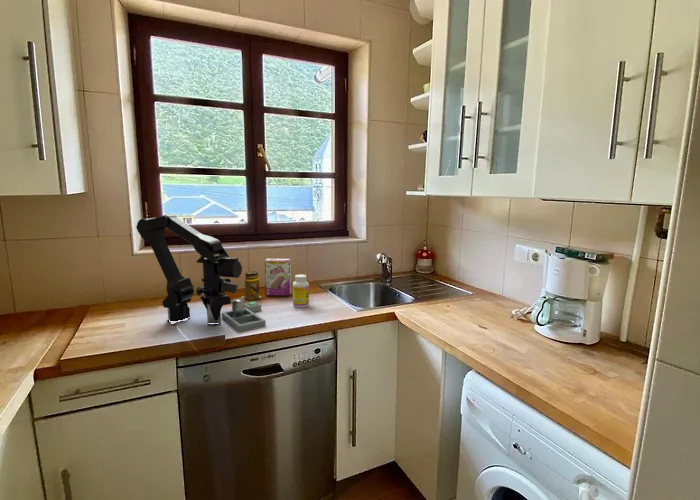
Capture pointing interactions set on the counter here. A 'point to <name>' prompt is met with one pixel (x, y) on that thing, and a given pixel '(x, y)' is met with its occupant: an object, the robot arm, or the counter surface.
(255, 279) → the condiment
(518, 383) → the counter surface
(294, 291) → the supplement bottle
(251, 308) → the button collar
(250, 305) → the button
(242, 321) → the grey divided tray
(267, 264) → the candy bar box
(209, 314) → the billet
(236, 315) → the seated billet
